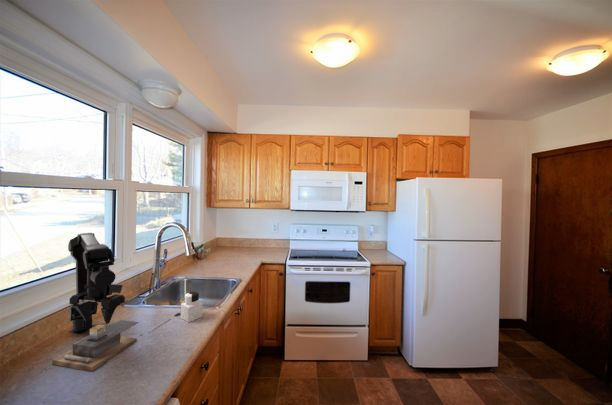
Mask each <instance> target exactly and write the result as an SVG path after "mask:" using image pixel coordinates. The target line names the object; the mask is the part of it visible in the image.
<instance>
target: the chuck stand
mask: <svg viewBox="0 0 612 405" xmlns="http://www.w3.org/2000/svg"><path fill="white" fill-rule="evenodd" d="M136 342H137V338H135V337H128V336H124V335H123V336H122V335H121V333H120V332H114V331H107V330H106V337H104V338H103V339H101V340H99V341H97V342H92V341H90V334H89V335H87V336H85V337H83V338H81V339H79V340H77V341H75V342H74V343H72V349H70V350H69V351H66V352H64V353H63V354H60V355H58V356H57V357H55V358H53V359H52V360H51V365H53V366H59V367H65V368H71V369H76V370H82V371H87V372H94V371H95V370H97V369H98V368H99V367H101V366H103V365H104V364H105V363H107V361H109V360H110V359H111V358H112V357H114V356H116V355H117V354H119V353H121V352H122V351H123V350H125V349H126V348H128V347H130V346H131V345H132V344H134V343H136Z"/></svg>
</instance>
